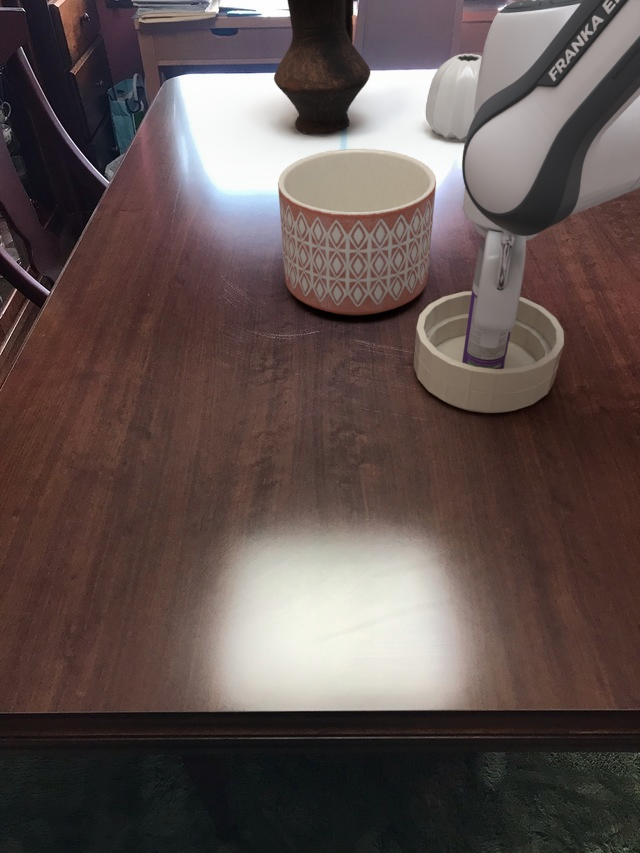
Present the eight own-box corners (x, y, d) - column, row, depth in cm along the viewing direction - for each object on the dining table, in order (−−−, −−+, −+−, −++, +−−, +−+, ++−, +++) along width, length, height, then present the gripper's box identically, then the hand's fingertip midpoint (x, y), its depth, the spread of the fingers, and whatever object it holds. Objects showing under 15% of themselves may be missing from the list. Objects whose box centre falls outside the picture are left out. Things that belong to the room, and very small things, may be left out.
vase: (419, 142, 131) (424, 66, 122) (432, 118, 140) (437, 45, 131) (492, 149, 127) (503, 70, 118) (500, 123, 137) (511, 48, 128)
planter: (256, 294, 93) (245, 187, 83) (340, 238, 104) (339, 138, 94) (375, 342, 84) (378, 229, 74) (452, 275, 95) (465, 169, 85)
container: (472, 350, 81) (490, 231, 71) (510, 363, 79) (534, 243, 68) (454, 370, 78) (470, 250, 68) (492, 385, 76) (514, 263, 66)
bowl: (552, 340, 83) (562, 298, 79) (553, 426, 72) (565, 381, 68) (422, 326, 86) (426, 284, 82) (404, 406, 75) (407, 362, 71)
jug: (346, 150, 129) (346, -41, 109) (260, 137, 135) (245, -46, 115) (387, 114, 143) (394, -62, 123) (307, 103, 149) (301, -65, 129)
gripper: (546, 250, 57) (518, 381, 66) (546, 155, 71) (523, 274, 80) (469, 244, 58) (452, 373, 67) (484, 151, 72) (469, 269, 82)
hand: (491, 318), depth 74 cm, fingers open, 8 cm apart
